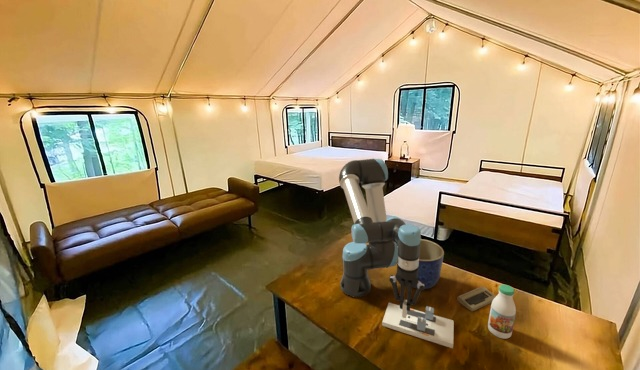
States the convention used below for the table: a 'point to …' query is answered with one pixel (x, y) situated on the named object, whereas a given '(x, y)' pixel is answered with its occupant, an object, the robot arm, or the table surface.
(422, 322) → the tab near
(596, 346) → the table surface
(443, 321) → the switch board
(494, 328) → the milk bottle
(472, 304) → the computer
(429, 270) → the planter
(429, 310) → the tab far
